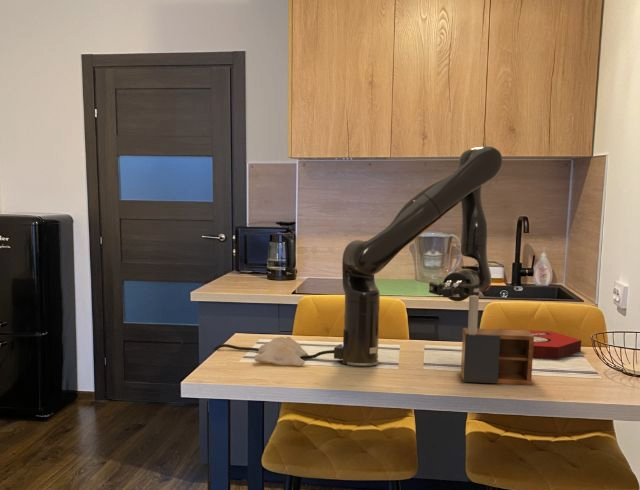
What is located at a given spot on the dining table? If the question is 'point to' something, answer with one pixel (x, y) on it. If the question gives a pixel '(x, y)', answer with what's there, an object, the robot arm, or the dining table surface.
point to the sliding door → (480, 350)
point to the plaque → (553, 345)
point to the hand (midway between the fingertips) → (446, 293)
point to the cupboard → (510, 355)
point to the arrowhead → (281, 352)
